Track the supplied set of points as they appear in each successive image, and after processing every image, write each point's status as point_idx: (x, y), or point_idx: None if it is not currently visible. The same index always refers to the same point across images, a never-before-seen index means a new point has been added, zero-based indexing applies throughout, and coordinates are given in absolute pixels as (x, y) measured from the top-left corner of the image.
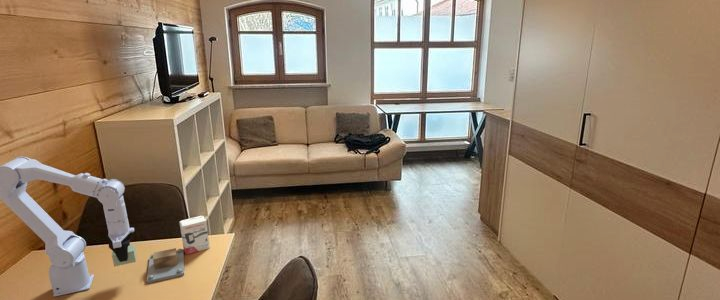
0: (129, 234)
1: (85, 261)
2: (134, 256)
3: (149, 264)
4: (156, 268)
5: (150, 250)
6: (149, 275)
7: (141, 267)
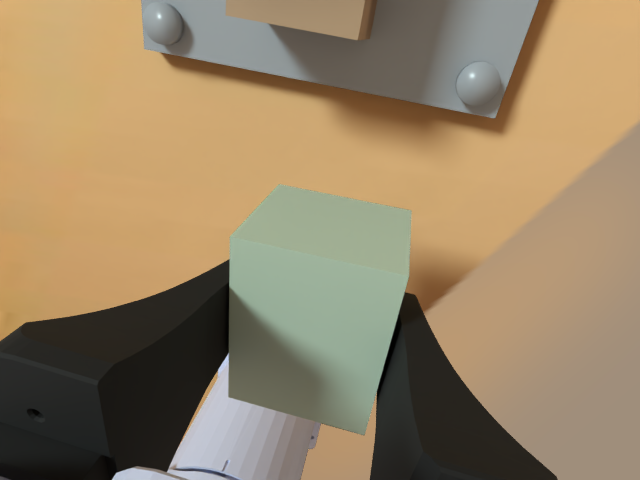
0: (135, 374)
1: (231, 454)
2: (408, 240)
3: (268, 68)
4: (371, 23)
5: (52, 35)
6: (458, 92)
7: (253, 120)
